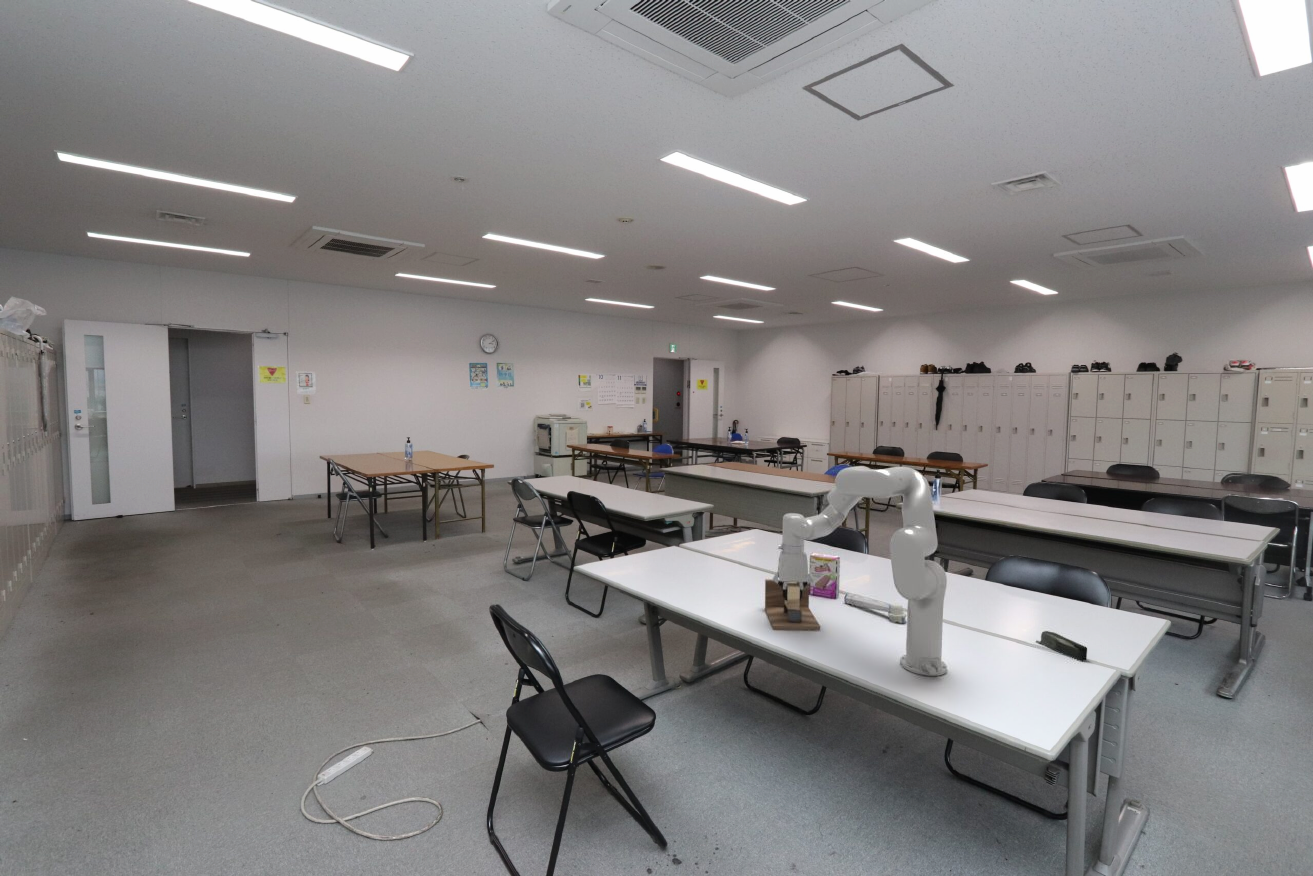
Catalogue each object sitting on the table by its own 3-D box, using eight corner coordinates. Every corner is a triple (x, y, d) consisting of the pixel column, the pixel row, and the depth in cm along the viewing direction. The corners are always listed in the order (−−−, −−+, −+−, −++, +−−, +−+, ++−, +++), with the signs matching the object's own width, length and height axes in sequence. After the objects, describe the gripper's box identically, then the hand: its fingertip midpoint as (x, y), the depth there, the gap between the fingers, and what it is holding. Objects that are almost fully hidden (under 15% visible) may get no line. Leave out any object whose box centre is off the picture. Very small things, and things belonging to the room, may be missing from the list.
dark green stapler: (1089, 646, 175) (1041, 626, 189) (1082, 647, 174) (1035, 627, 188) (1088, 662, 176) (1040, 641, 190) (1081, 663, 175) (1034, 642, 189)
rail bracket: (799, 609, 204) (799, 587, 203) (787, 609, 204) (788, 587, 204) (796, 603, 210) (796, 581, 209) (784, 603, 210) (785, 581, 210)
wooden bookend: (820, 630, 199) (820, 597, 198) (773, 629, 200) (773, 597, 199) (807, 610, 218) (808, 579, 218) (764, 609, 219) (765, 579, 218)
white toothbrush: (851, 592, 227) (908, 602, 206) (853, 609, 227) (910, 621, 206) (842, 594, 225) (899, 605, 203) (844, 612, 224) (900, 624, 203)
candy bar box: (808, 595, 235) (809, 555, 234) (811, 591, 239) (812, 552, 238) (836, 599, 229) (837, 558, 228) (839, 596, 234) (840, 556, 233)
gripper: (770, 551, 202) (770, 602, 203) (819, 551, 201) (818, 603, 203) (767, 545, 210) (766, 595, 211) (814, 546, 209) (813, 596, 210)
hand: (792, 599), depth 207 cm, fingers closed on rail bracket, 4 cm apart
